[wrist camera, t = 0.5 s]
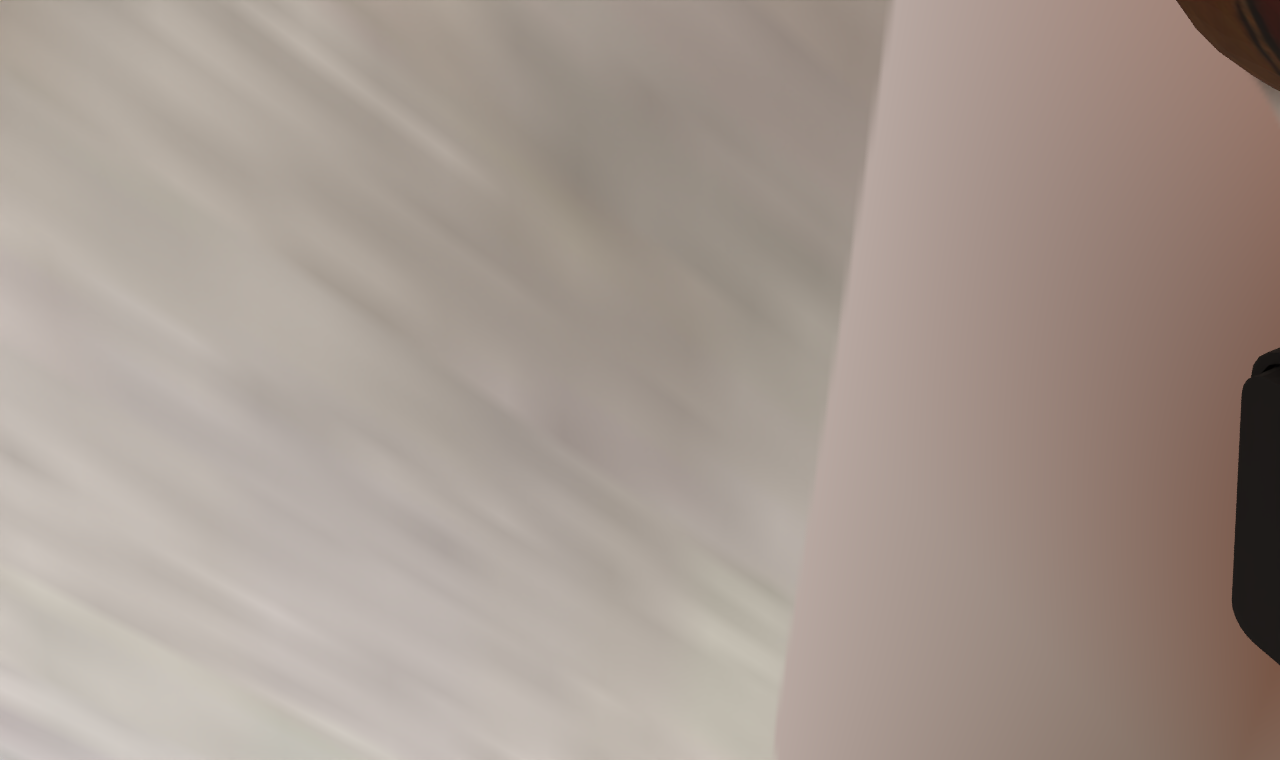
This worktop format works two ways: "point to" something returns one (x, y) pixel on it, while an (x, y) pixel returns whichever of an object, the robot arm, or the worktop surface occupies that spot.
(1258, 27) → the brown ceramic vase
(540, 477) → the worktop surface
